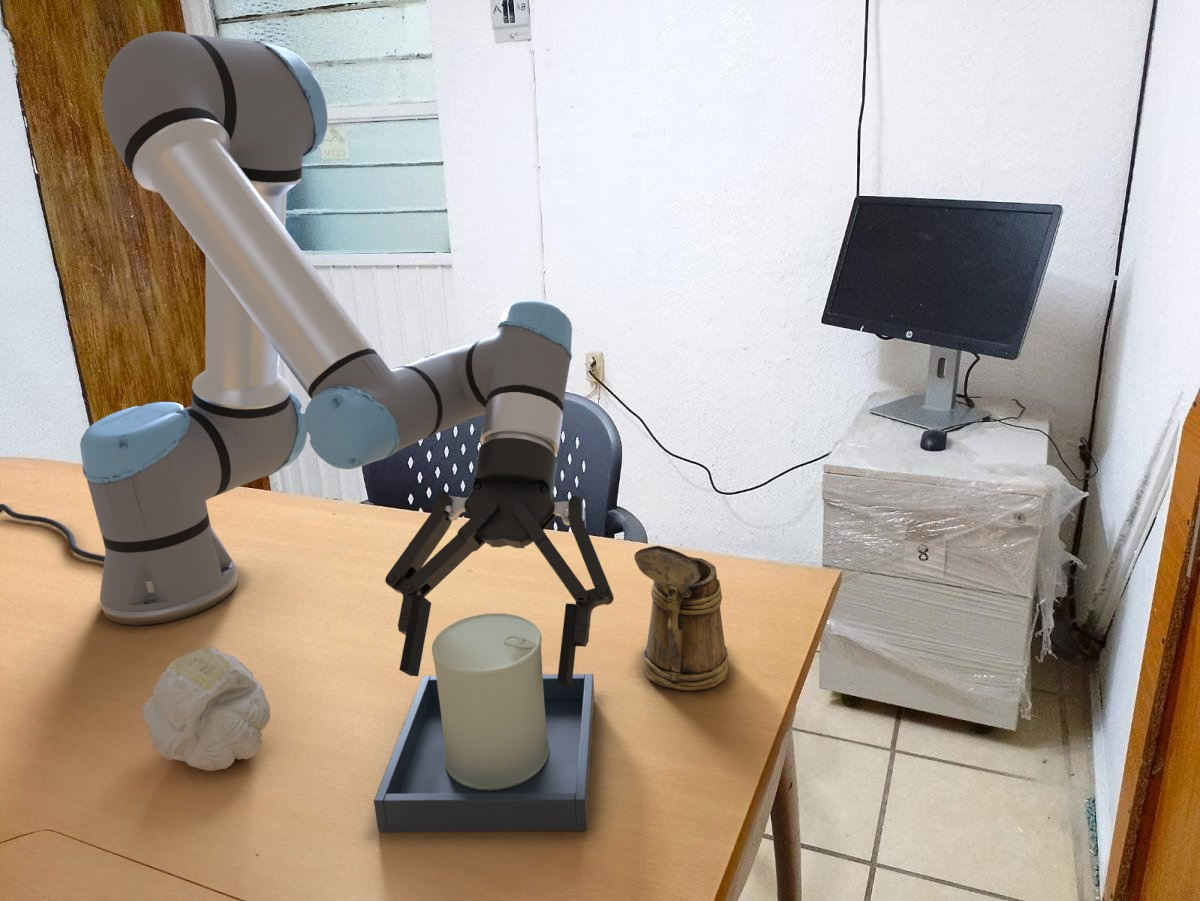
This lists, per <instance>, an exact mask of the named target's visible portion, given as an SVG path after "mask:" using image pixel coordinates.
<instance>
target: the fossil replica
mask: <svg viewBox="0 0 1200 901" xmlns="http://www.w3.org/2000/svg"><path fill="white" fill-rule="evenodd" d="M141 710H142V717H143V720H144V721H145V723H146V725H147V728H148V731H149V735H150V740H151V744H152V747H153V749H154V750H155V751H156V752H157V753H159V755H160V756H161V757H162V759H164V760H165V761H168V760H169V761H171V760H176V761H180V762H181V761H182V762H184V763H186V764H187V765H188V766H190V767H192V768H196V769H197V770H203V771H207V772H209V771H210V772H215V771H220V770H225V769H228V768H229V767H230V766H232V765H233V763H234V762H235V760H236V759H237V760H241V759H243V760H248V759H250V758H252V757H253V756H255V755H256V754H257V753H258V752H259V751H260V749H261V746H262V735H263V734H262V733H261V731H262V730H263V729H265V728H266V727H267V725H268V724H269V722H270V719H271V706H270V704H269V701H268V699H267V696H266V692H265V690H264V688H263V685H262V684H260V683H259V681H258V680H257V678H255V677H254V673H253V672H252V671H251V670H250V669H249V668H248V667H247V666H246V665H245V664H244V663H243V662H242V661H240V660H239V658H237V657H235V656H234V655H230V654H226V653H223V652H221V651H220V650H219V649H218V648H215V647H213V646H205V647H203V648H198V649H194V651H191V652H187V653H185V654H182V655H180V656H178V657H177V658H175V659H174V660H172V661H171V662H170V663H169V664H168V666H167V668H166V669H165V670H164V671H163V673H162V674H161V676H160V677H159V678H158V680H157V681H156V684H155V686H154V687H153V689H152V695H151V696H150V697H149V699H148V701H147V702H146V703H145V704H144V705H142V708H141Z"/></svg>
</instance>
